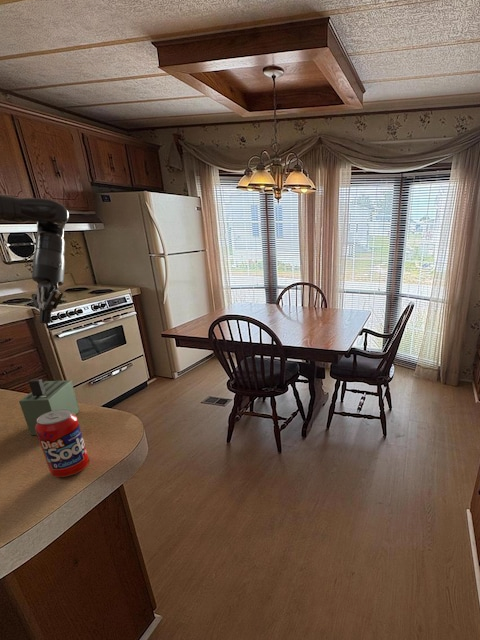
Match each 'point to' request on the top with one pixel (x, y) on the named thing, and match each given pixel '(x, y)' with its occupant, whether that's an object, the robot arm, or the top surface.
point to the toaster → (49, 402)
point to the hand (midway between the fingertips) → (44, 323)
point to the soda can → (62, 442)
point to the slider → (37, 387)
